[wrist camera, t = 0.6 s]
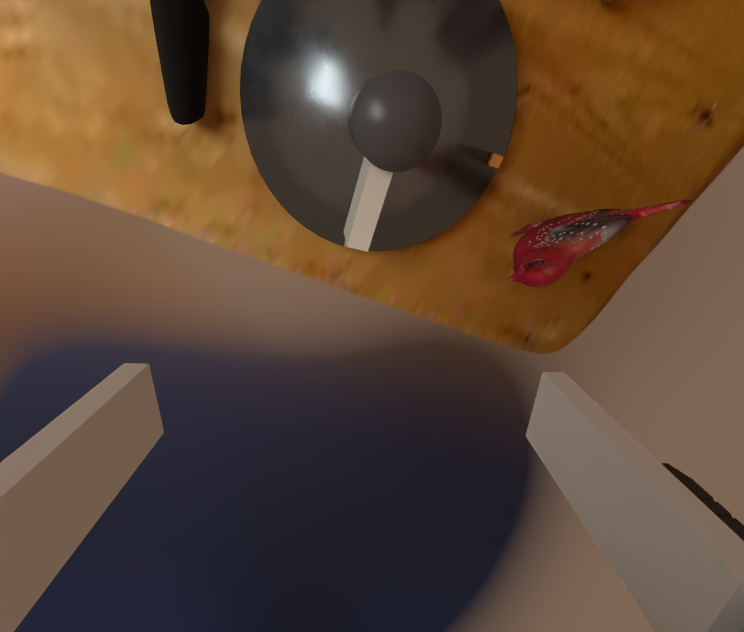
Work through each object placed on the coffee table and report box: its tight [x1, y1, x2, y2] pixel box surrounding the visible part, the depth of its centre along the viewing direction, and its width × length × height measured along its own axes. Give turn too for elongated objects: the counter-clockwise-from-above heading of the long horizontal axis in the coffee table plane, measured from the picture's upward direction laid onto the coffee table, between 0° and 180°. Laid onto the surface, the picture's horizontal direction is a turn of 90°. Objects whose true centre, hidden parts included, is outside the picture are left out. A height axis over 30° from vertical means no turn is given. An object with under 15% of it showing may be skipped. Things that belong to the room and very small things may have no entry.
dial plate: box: [240, 0, 518, 251], centre depth 28 cm, size 22×22×2 cm
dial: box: [344, 70, 442, 252], centre depth 27 cm, size 12×6×5 cm, turn 162°
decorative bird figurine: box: [506, 200, 692, 287], centre depth 32 cm, size 3×18×10 cm, turn 109°
